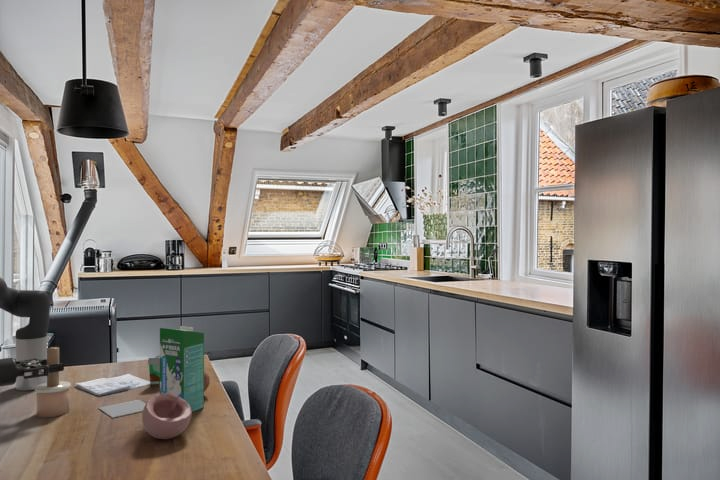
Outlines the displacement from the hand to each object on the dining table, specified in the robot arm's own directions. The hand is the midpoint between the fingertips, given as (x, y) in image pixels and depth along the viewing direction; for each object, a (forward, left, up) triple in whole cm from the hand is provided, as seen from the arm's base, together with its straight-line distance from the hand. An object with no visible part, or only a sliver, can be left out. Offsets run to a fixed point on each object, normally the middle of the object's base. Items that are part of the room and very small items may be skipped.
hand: (59, 364), depth 160 cm
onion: (+13, +36, -14) cm, 41 cm away
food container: (-9, +36, -14) cm, 40 cm away
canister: (0, -2, -14) cm, 14 cm away
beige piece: (0, -2, -7) cm, 7 cm away
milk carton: (+23, +27, -14) cm, 38 cm away
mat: (+11, +15, -14) cm, 23 cm away
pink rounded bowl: (+42, +14, -14) cm, 47 cm away
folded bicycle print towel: (-18, +22, -15) cm, 32 cm away
